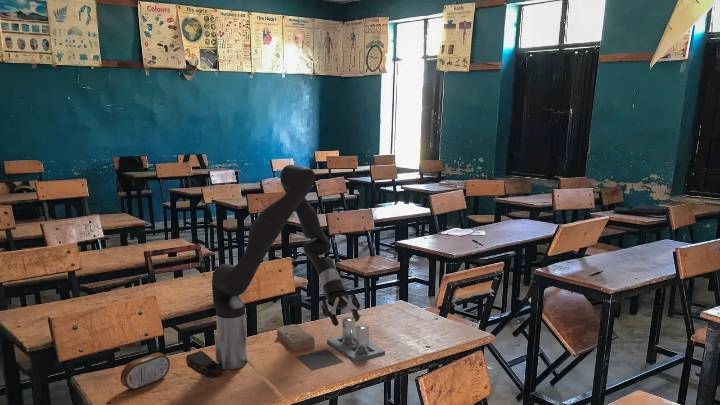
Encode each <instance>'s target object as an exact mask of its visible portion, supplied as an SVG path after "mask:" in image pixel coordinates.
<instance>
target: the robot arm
mask: <svg viewBox="0 0 720 405" xmlns="http://www.w3.org/2000/svg"><path fill="white" fill-rule="evenodd" d="M279 180H280V182H281V186H282V188H283V190H284V192H285V194H284V195H283V196H282V197H281V198H279V199H278V200H276V201H275V202H273V203H272V204H270V205H268V206H267V207H265V208H264V209H263V210H262V211H260V213H259V214H258V216H257V218H255V220H254V222H252V224H251V226H250V229H249V231H248V236H247V243H246V248H245V251H244V253H243V255H242V256H241V258H240V259H239V260H238V262H237V263H236V265H234V264H230V263H223V264H219V265H218V266H217V267H216V268H215V270H214V271H213V273H212V277H211V291H212V300H213V301H212V302H213V307H214V308H215V309H214V310H215V311H216V312H215V314H216V335H215V336H214V341H215V346H214V347H215V362H216V363H217V364H219V365H221V366H222V367H223V369H222V370H221V371H224V370H236V369H240V368H243V367H245V366H246V364H247V363H248V361H247V360H248V358H247V357H248V356H247V353H248V352H247V322H246V321H247V319H246V314H247V313H246V305H245V303H244V302H243V300H242V299H241V297H240V295H242V294H244V292H246V291H247V289H248V288H249V286H250V284H251V282H252V281H253V279H254V277H255V274H256V273H257V271H258V269H259V267H260V265H261V263H262V262H263V260H264V259H265V257H266V255H267V253H268V251H270V249H271V247H272V245H273V244H274V242H275V241H276V240H277V238H278V237H279V235H280V233H281V232H282V230H283V229H284V227H285V225H286V223H287V222H288V220H289V219H290V218H291V216H292V215H293V213H294V212H295V214H296V215H297V218H298V221H299V223H300V227H301V230H302V233H303V236H304V237H305V238H306V239H309V240H306V241H305V242H304V243H303V246H302V249H303V252H304V254H305V256H306V257H307V258H308V260H310V262H311V263H312V265H313V267H314V268H315V270H316V273H317V275H318V278H319V282H320V285H321V287H322V291H323V292H324V296H325V298H326V299H325V298H322V299H321V300H320V302H319V305H320V308H321V310H322V314H323V317H326V318H327V317H329V318H330V321H331V324H332V325H333V326H334V327H337V326H339V324H340V323H339V321H338V317H337V315H336V314H335V313H336V310H340V309H346V310H347V311H350V312H351V314H352V315H351V316H352V317H353V318H355V323H356V322H358V321H360V318H361V317H360V314H359V311H358V310H359V309H360V308H361V304H360V302H359V300H358V297H357V296H356V293H355V292H352V293H351V294H349V295H348V294H347V292H346V288H345V285H344V283H343V281H342V279H341V276H340V274H339V272H338V270H337V268H336V266H335V263H334V260H333V259H332V258H331V257H330V256H323V255H326V254H328V253H329V252H331V248H332V244H331V243H332V242H330V239H329V238H328V236H326V234H325V233H324V231H323V229H322V227H321V226H322V225H321V222H320V219H319V217H318V214H317V212H316V210H315V209H314V208H313V205H311V203H310V202H309V201H308V200H307V195H308V194H309V193H310V191H311V190H312V189H313V187H314V185H315V182H316V181H315V180H316V174H315V171H314V170H313V169H312V168H309V167H307V166H301V165H298V164H287V165H285V166H284V167H283V168H282V169H281V171H280V177H279ZM320 256H321V257H320ZM328 305H329V306H330V309H329V307H328Z"/></svg>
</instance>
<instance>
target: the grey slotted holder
mask: <svg viewBox="0 0 720 405" xmlns="http://www.w3.org/2000/svg"><path fill="white" fill-rule="evenodd" d="M326 342H327V343H328V344H329V345H330V346H332V347H333V348H335V349H336V350H338V351H339V352H340V353H342V354H343V355H344V356H346V357H347V358H348V359H350V360H352V361H353V362H354V363H358V362H361V361H364V360H367V359H372V358H376V357H380V356H384V357H386V351H385V350H384V349H382V348H381V347H379V346H377V345H376V344H375V343H373V342H371V341H370V340H369V353H366V354H362V355H358V354H357V353H356V332H355V344H351V345H347V346H345V345H344V344H342V335H340V336H336V337H332V338H328V339H327V340H326Z"/></svg>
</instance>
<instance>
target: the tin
mask: <svg viewBox="0 0 720 405" xmlns="http://www.w3.org/2000/svg"><path fill="white" fill-rule="evenodd" d="M170 364H171V361H170V359H169V357H168V356H166V355H165V354H164V353H162V352H155V353H152V354H149V355H146V356H143V357H140V358H137V359H134V360H132V361H130V362H128V363H127V364H126V365H125V366H124V367H123V369H122V371H121V373H120V383H121V385H122V386H124V387H125V388H126V389H129V390H133V389H134V390H138V389H140V388H139V387H141V388H143V387H145V385H146V386H149V385H150V384H154V383H156V382H158V381H160V380H162V379H164V378H165V377H166V375H167V374H168V373H169V371H170V366H171V365H170ZM153 382H154V383H153ZM142 386H143V387H142ZM137 388H138V389H137Z"/></svg>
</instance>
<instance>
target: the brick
mask: <svg viewBox="0 0 720 405" xmlns="http://www.w3.org/2000/svg"><path fill="white" fill-rule="evenodd" d="M276 331H277V332H276V336H277V339H278V341H280V342H284V344H285V345H287V347H288V348H290V349H291V350H292V351H294V352H295V351H296V352H298V351H301V350H306V349H310V348H314V347H315V338H314V336H313V335H312V334H310V333H309V332H307V331H305V330H304V329H303V328H302V327H301V326H300V325H298V324H295V323H294V324H289V325H284V326H281V327H277V329H276Z"/></svg>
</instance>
